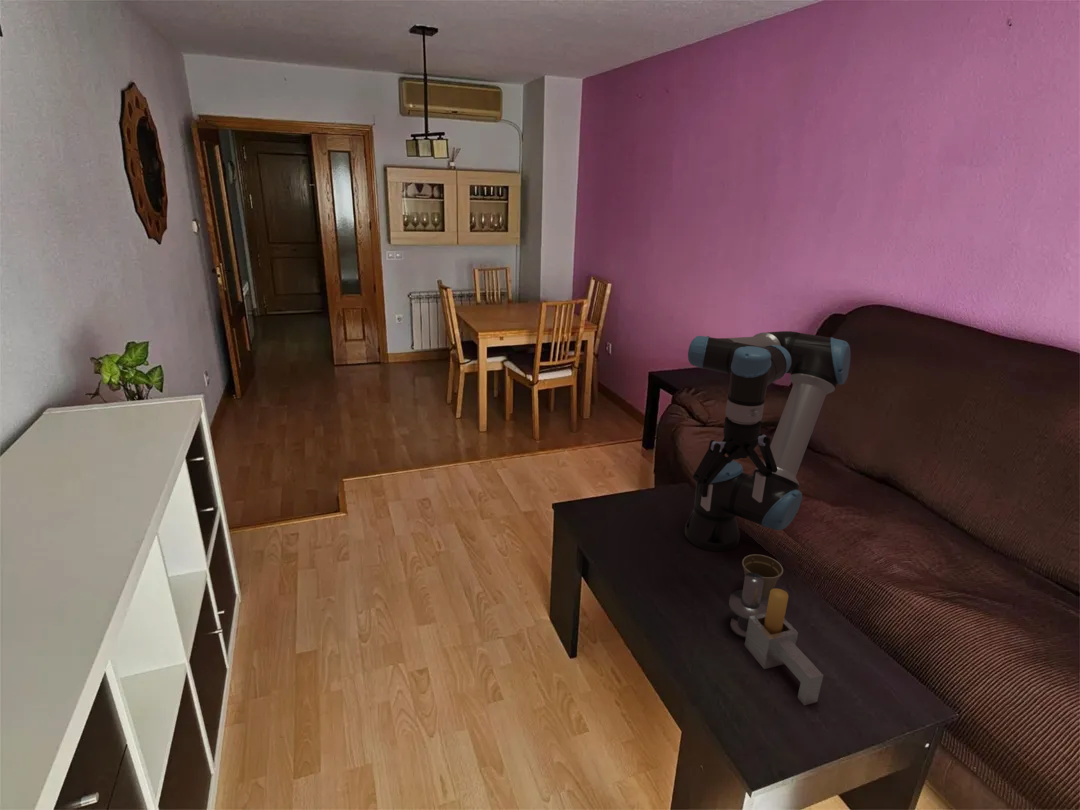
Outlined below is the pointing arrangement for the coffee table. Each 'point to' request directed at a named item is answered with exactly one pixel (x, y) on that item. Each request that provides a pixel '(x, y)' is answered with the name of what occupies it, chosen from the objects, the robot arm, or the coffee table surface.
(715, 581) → the coffee table surface
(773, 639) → the rosette bracket
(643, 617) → the coffee table surface
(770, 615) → the tapered pin
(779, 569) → the flower pot
